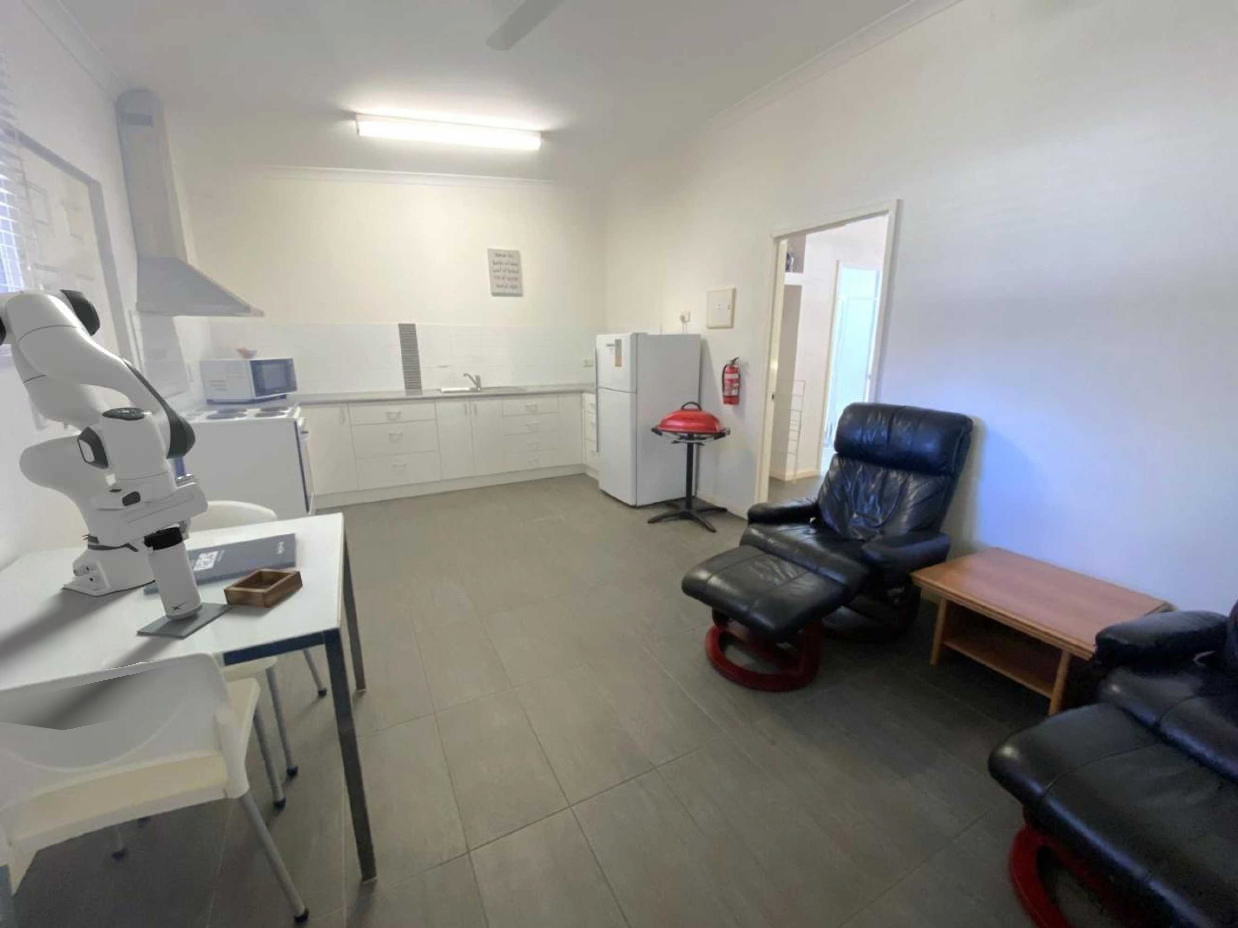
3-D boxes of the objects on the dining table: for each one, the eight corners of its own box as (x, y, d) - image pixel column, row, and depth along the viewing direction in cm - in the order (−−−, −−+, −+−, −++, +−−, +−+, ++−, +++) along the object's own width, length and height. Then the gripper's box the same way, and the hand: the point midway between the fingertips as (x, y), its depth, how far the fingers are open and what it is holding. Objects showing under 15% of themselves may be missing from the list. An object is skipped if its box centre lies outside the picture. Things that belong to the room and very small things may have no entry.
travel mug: (183, 621, 111) (157, 536, 105) (159, 618, 112) (132, 535, 106) (211, 605, 117) (187, 524, 111) (188, 603, 118) (163, 523, 112)
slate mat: (137, 633, 110) (136, 631, 110) (190, 603, 122) (190, 601, 121) (184, 637, 108) (183, 635, 108) (234, 606, 120) (233, 604, 119)
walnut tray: (227, 604, 121) (223, 589, 120) (263, 582, 131) (259, 568, 129) (269, 607, 119) (265, 592, 118) (302, 585, 129) (299, 570, 128)
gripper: (183, 471, 116) (198, 527, 120) (79, 503, 97) (101, 568, 101) (207, 472, 115) (221, 528, 119) (106, 504, 96) (128, 570, 100)
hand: (165, 547), depth 110 cm, fingers closed on travel mug, 6 cm apart
